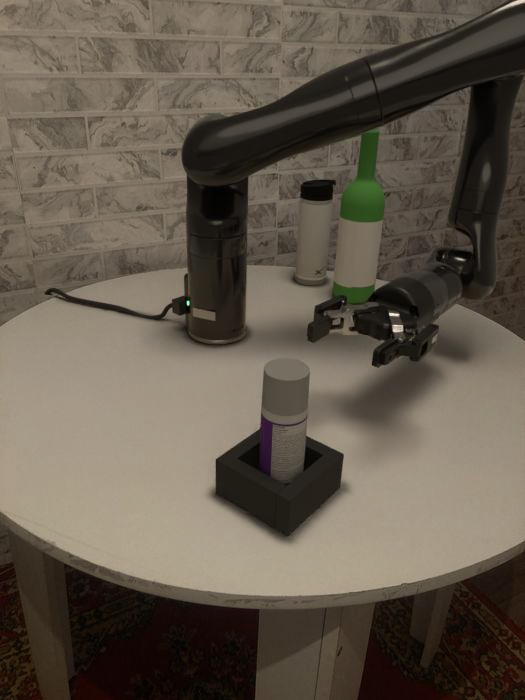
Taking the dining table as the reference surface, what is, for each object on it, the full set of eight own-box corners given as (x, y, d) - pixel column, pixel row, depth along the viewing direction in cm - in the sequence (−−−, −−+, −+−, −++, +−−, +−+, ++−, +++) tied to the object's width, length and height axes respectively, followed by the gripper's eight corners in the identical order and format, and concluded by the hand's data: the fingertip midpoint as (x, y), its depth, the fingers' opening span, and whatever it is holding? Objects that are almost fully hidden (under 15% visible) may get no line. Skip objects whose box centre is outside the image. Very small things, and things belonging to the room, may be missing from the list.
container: (256, 476, 66) (260, 357, 59) (298, 474, 66) (307, 356, 59) (260, 505, 62) (264, 381, 55) (304, 503, 62) (315, 380, 55)
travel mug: (325, 287, 117) (334, 184, 107) (292, 284, 118) (298, 181, 109) (329, 276, 122) (337, 177, 113) (297, 273, 123) (303, 175, 114)
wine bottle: (376, 306, 109) (398, 134, 95) (333, 304, 109) (350, 132, 95) (369, 290, 116) (390, 127, 102) (330, 289, 116) (344, 126, 102)
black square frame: (215, 492, 63) (215, 459, 61) (271, 451, 70) (272, 419, 68) (287, 536, 58) (290, 501, 56) (340, 486, 65) (344, 453, 63)
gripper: (364, 264, 79) (291, 297, 68) (467, 292, 72) (404, 336, 60) (358, 315, 83) (288, 355, 71) (455, 347, 75) (394, 398, 64)
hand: (341, 346), depth 66 cm, fingers open, 8 cm apart
